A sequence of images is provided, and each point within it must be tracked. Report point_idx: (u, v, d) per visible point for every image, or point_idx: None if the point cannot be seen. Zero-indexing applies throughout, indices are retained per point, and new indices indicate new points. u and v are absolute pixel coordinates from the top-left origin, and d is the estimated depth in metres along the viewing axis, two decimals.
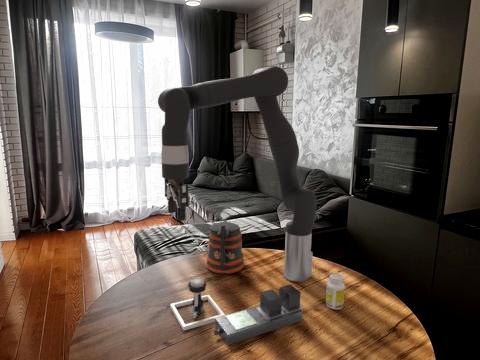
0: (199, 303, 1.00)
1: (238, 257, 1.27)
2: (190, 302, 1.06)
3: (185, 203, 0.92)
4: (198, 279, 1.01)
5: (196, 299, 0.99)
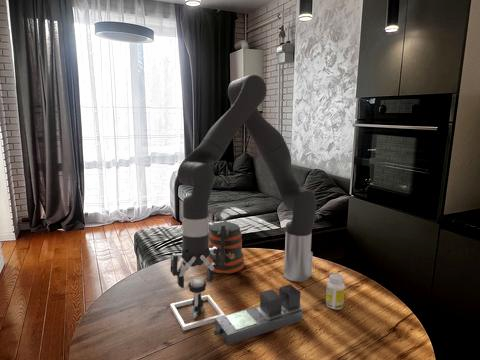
0: (199, 303, 1.00)
1: (238, 257, 1.27)
2: (190, 302, 1.06)
3: None
4: (198, 279, 1.01)
5: (196, 299, 0.99)
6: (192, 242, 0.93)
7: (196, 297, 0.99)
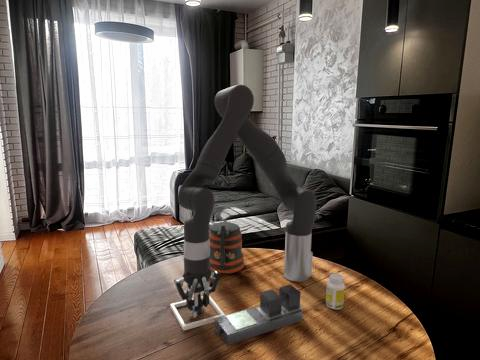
0: (199, 303, 1.00)
1: (238, 257, 1.27)
2: None
3: None
4: None
5: (196, 299, 0.99)
6: (194, 265, 0.94)
7: (196, 297, 0.99)
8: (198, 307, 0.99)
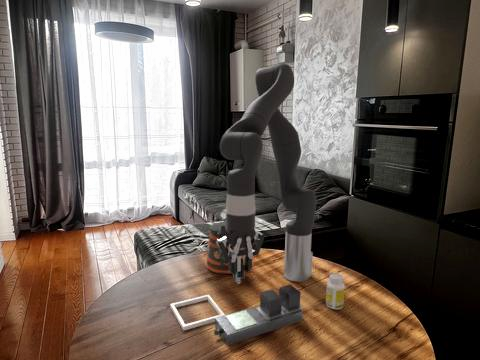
0: (242, 268, 0.90)
1: None
2: (190, 302, 1.06)
3: None
4: None
5: (239, 263, 0.89)
6: (239, 221, 0.84)
7: (239, 261, 0.89)
8: (241, 272, 0.89)
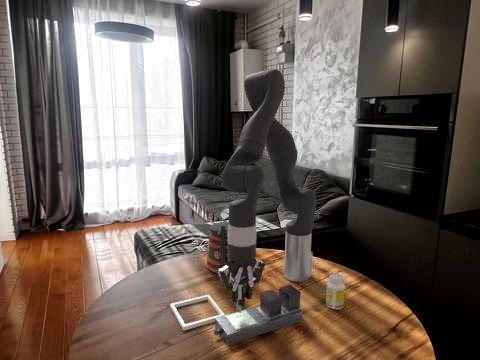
0: (242, 296, 0.91)
1: None
2: (190, 302, 1.06)
3: None
4: None
5: (240, 292, 0.90)
6: (240, 251, 0.85)
7: (240, 290, 0.90)
8: (242, 300, 0.90)
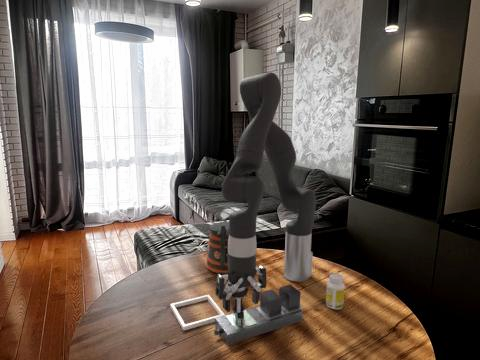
0: (241, 309, 0.92)
1: None
2: (190, 302, 1.06)
3: None
4: None
5: (239, 305, 0.91)
6: (240, 262, 0.86)
7: (239, 302, 0.90)
8: (241, 313, 0.91)
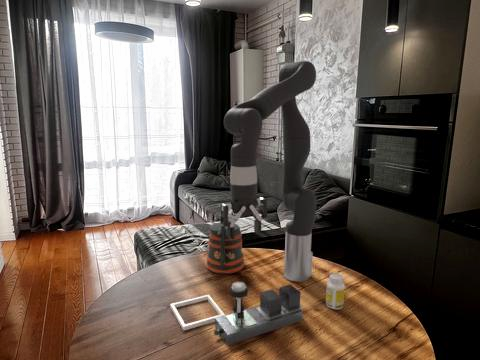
0: (241, 309, 0.92)
1: (238, 257, 1.27)
2: (190, 302, 1.06)
3: None
4: (239, 283, 0.92)
5: (239, 305, 0.91)
6: (243, 190, 0.92)
7: (239, 302, 0.90)
8: (241, 313, 0.91)
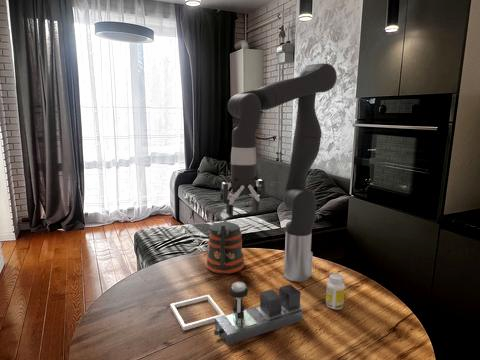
0: (241, 309, 0.92)
1: (238, 257, 1.27)
2: (190, 302, 1.06)
3: None
4: (239, 283, 0.92)
5: (239, 305, 0.91)
6: (242, 169, 0.98)
7: (239, 302, 0.90)
8: (241, 313, 0.91)
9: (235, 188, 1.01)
